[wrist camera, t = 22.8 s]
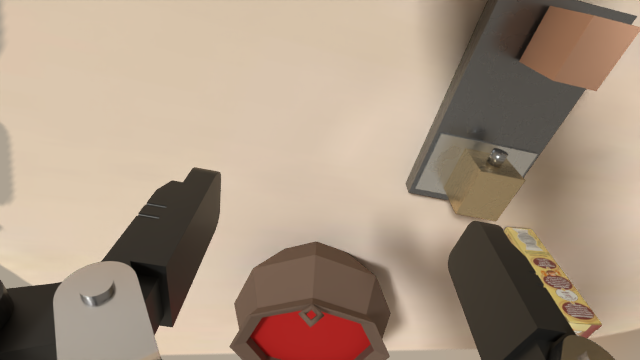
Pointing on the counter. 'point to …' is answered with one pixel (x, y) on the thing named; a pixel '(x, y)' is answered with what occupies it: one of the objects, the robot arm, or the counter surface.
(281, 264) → the brown cauldron
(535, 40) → the block
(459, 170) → the block
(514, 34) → the press bed
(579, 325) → the candy box
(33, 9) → the counter surface
